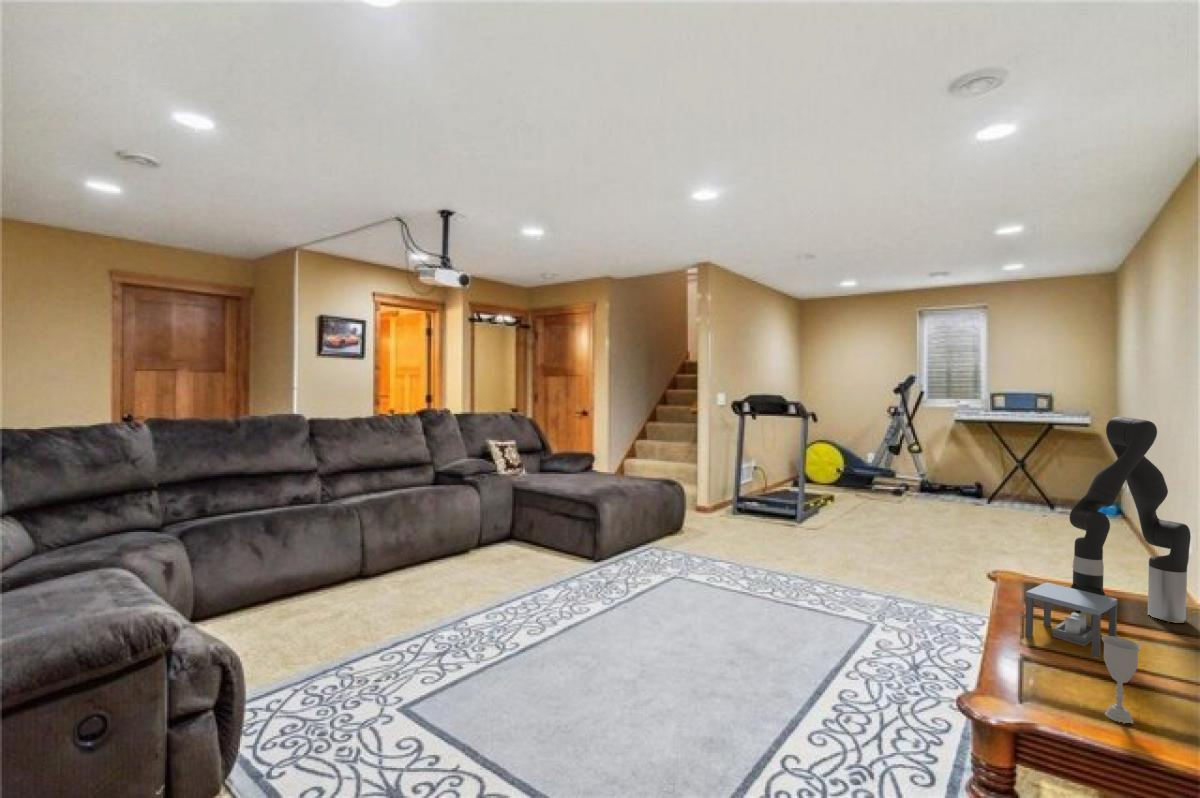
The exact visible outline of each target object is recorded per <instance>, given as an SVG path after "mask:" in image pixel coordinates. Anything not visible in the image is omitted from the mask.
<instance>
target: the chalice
mask: <svg viewBox="0 0 1200 798" xmlns="http://www.w3.org/2000/svg"><path fill="white" fill-rule="evenodd" d="M1101 640H1102V642H1103V659H1104V660H1103V661H1104V663H1105V665H1106V669H1107V671H1108V672H1109V674H1110V676H1111V678H1112V679H1113V680H1114V681H1116V687H1115V690H1116V694H1115V695H1114V697H1115V699H1116V702H1115V704H1111V705H1109V707H1108V708H1107V709H1106V711H1105V712H1104V715H1105V716H1106V717H1107V718H1108V719H1110V720H1112V721H1115V722H1117V721H1118V723H1120V722H1123V723H1122V724H1125V723H1131V724H1134V719H1133V718H1132V716H1131V714H1130V713H1131V712H1130V711H1129V710H1128V709H1127V708H1126V707H1124V705H1123V701H1124V700H1125V698H1124V696H1123V693H1124V692H1125V690H1124V688H1123V684H1126V683H1128V682H1129V681H1130V680H1131V679H1132V677H1133V676H1134V675H1135V673H1136V672H1137V669H1138V666H1139V665H1138V659H1139V651H1140V649H1141V648H1142V647H1141V645H1140V644H1138V643H1136V642H1134V641H1132V640H1130V639H1127V638H1123V637H1119V636H1116V637H1114V636H1108V635H1105V636H1102V637H1101ZM1131 724H1130V725H1131Z"/></svg>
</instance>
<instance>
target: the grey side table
mask: <svg viewBox="0 0 1200 798" xmlns="http://www.w3.org/2000/svg"><path fill="white" fill-rule="evenodd" d="M1069 587H1070V586H1069ZM1069 587H1067V586H1064V585H1059V584H1055V583H1052V582H1047V581H1046V582H1044V583H1041V584H1040V585H1037V586H1035V587H1032V588H1031V589H1029V590H1027V591H1026V592H1025V624H1024V625H1025V626H1024V627H1025V628H1024V629H1025V632H1024V635H1025V637H1028V638H1032V637H1033V636H1034V601H1035V600H1038V601H1042V602H1043V623H1042V624H1043V626H1044V627H1050V626H1051V625H1052V604H1053V605H1054V604H1055V605H1057V606H1061V607H1066V608H1069V609H1072V610H1073V609H1074V610H1075V609H1076V610H1080V611H1084V612H1088V613H1091V614H1093V619H1092V641H1091V657H1093V658H1096V659H1099V658H1100V657H1101V635H1102V634H1101V631H1102V629H1101V626H1102V625H1101V624H1102V615H1101V614H1102V613H1104V612H1106V611H1107V610H1108V635H1107V636H1114V637H1117V630H1118V628H1117V626H1118V624H1117V623H1118V622H1117V621H1118V599H1117V598H1114V597H1110V596H1108V597H1106V596H1107V595H1106V596H1102V595H1098V594H1094V593H1090V592H1086V591H1081V590H1077V589H1073V588H1069ZM1034 599H1035V600H1034ZM1076 610H1075V611H1076Z"/></svg>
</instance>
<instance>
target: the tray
mask: <svg viewBox="0 0 1200 798" xmlns="http://www.w3.org/2000/svg"><path fill="white" fill-rule="evenodd" d="M1070 615H1071V616H1065V617H1064V620H1063V621H1062V622H1060V623H1059V624H1057V625H1056V626H1054V627H1053V628H1052V637H1054V638H1056V639H1060V640H1063V641H1066V642H1069V643H1072V644H1076V645H1079V646H1082V647H1086V646H1087V645H1088V644H1089V643H1092V614H1091V613H1088V612H1084V611H1081V614H1080V613H1076V612H1071V614H1070Z"/></svg>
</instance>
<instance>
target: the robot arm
mask: <svg viewBox="0 0 1200 798" xmlns="http://www.w3.org/2000/svg"><path fill="white" fill-rule="evenodd" d="M1105 426H1106V428H1105V429H1106V430H1105V434H1106V438H1107V440H1108V442H1109V444H1110V446H1111V448H1112V450H1113V451H1114V454H1115V456H1116V457H1117V459H1116V460H1115V461H1114V462H1112V463H1110V464H1109V465H1107V466H1106V467H1105V468H1103V469H1101V470H1100V471H1099V472H1098V473H1097V474H1096V475H1095V476H1094V478H1093V480H1092V482H1091V484H1090V486H1089V487H1088V488H1089V489H1087V492H1086V494H1085V495H1084V496H1083V497H1081V499H1080V500H1079V501H1078V502H1076V504H1075V505H1074V506H1073V508H1072V509H1071V511H1070V513H1069V522H1070V525H1072V526H1073V527H1074V528H1076V529H1079V530H1082V531H1085V535H1084V536H1080V537H1077V538H1076V539H1075V540H1074V553H1073V554H1074V555H1073V560H1072V561H1073V562H1072V585H1071V586H1069V588H1073V589H1077V590H1081V591H1086V592H1090V593H1094V594H1098V595H1102V596H1106V597H1109V596H1108V595H1106V593H1105V591H1104V568H1105V566H1104V560H1103V558H1104V548H1103V547H1104V545H1105V543H1106V540H1107V537H1108V535H1109V533H1110V529H1111V522H1110V519H1109V517H1108V516H1107V514H1105V513H1103V512H1101V511H1099V510H1100V509H1102V508H1109V507H1112V506H1113V505H1114V503H1115V502H1116V500H1117V498H1118V496H1119V494H1120V492H1121V490H1122V487H1123V486H1124V484H1125V482H1126V483H1127V486H1128V489H1129V492H1130V494H1131V497H1132V499H1133V502H1134V504H1135V508H1136V511H1137V514H1138V515H1137V516H1138V519H1139V524H1140V528H1141V533H1142V536H1143V539H1144V540H1145V542H1146V543H1147V544H1149V545H1151V546H1154V547H1158V548H1163V549H1167V550H1170V551H1169V554H1167V555H1156V556H1150V557H1149V559H1148V581H1147V582H1148V583H1147V587H1148V588H1147V589H1148V590H1147V616H1148V615H1150V616H1152V617H1155V618H1159V619H1163V620H1168V621H1184V620H1186V617H1187V615H1186V614H1187V591H1188V590H1187V588H1188V587H1187V585H1188V581H1187V580H1188V579H1187V578H1188V565H1189V560H1190V559H1189V558H1190V547H1191V537H1192V536H1191V530H1190V528H1189V526H1188V525H1187V524H1185V523H1181V522H1177V521H1170V520H1164V519H1160V518H1159V517H1158V515H1157V511H1158V508H1159V507H1160V506H1161V504H1163V502H1164V501H1165V500H1166V499H1167V496H1168V493H1169V490H1168V486H1167V483H1166V480H1165V477H1164V474H1163V473H1162V471H1161V470H1160V469H1159V468H1158V467H1157V466H1156V465H1155V464H1154V463H1153V462H1152V461H1150V460H1149V459H1148V458H1147V457H1146V456H1145V455H1146V454H1147V453H1148V451H1149V450H1150V448H1151V447H1152V446H1153V445H1154V443H1155V440H1156V439H1157V436H1158V428H1157V425H1156V424H1155V423H1154V422H1152V421H1150V420H1147V419H1141V418H1139V419H1138V418H1134V417H1133V418H1132V417H1125V416H1116V417H1112V418H1110V419H1109V421H1108V422H1107V424H1106V425H1105ZM1074 610H1075V613H1080V614H1081V611H1080V610H1076V609H1074ZM1108 613H1109V610H1107V611H1106V612H1104V613H1102V614H1101V616H1104V615H1106V614H1108ZM1150 616H1149V617H1150ZM1152 617H1151V618H1152ZM1092 619H1093V614H1092ZM1186 621H1187V620H1186Z"/></svg>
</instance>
